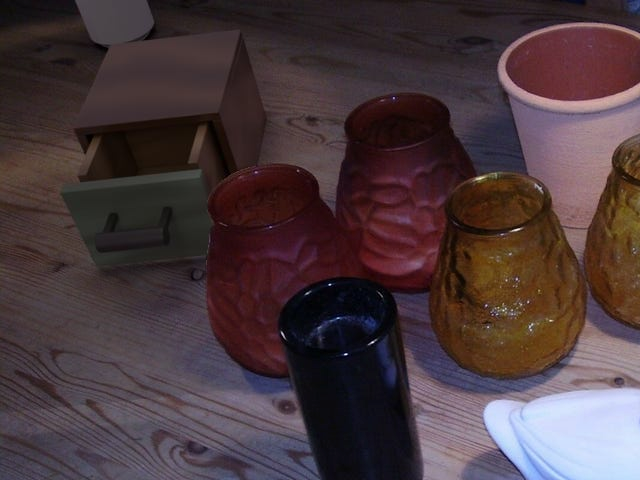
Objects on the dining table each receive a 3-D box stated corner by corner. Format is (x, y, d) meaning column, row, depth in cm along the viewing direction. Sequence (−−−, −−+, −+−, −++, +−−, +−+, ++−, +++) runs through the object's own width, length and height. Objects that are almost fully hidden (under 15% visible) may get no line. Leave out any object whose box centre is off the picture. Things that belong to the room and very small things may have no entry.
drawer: (220, 286, 82) (190, 209, 76) (84, 301, 82) (44, 225, 77) (247, 162, 94) (223, 88, 89) (128, 175, 95) (98, 102, 89)
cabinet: (248, 203, 91) (218, 111, 84) (113, 218, 91) (72, 128, 85) (266, 117, 101) (240, 28, 94) (144, 131, 102) (110, 44, 95)
